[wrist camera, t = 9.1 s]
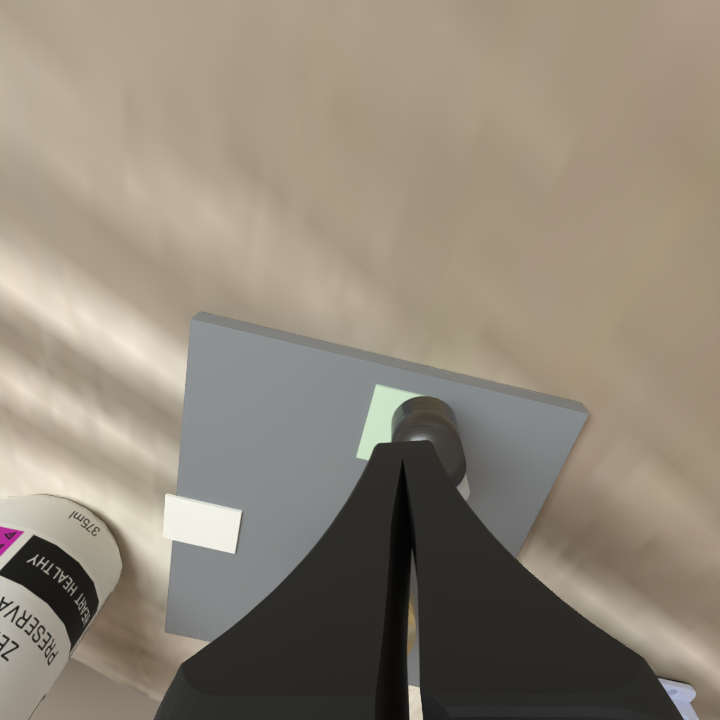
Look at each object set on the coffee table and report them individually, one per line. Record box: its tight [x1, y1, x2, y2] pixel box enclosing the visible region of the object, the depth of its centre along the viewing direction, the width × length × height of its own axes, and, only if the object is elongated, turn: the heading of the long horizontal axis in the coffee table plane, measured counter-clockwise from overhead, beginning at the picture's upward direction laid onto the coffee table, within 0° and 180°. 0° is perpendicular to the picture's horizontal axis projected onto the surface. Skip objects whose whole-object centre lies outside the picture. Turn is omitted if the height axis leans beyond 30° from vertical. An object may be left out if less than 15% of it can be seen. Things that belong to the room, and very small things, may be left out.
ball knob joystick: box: [391, 396, 466, 656], centre depth 20 cm, size 15×6×3 cm, turn 164°
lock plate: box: [162, 312, 589, 687], centre depth 24 cm, size 18×21×5 cm
